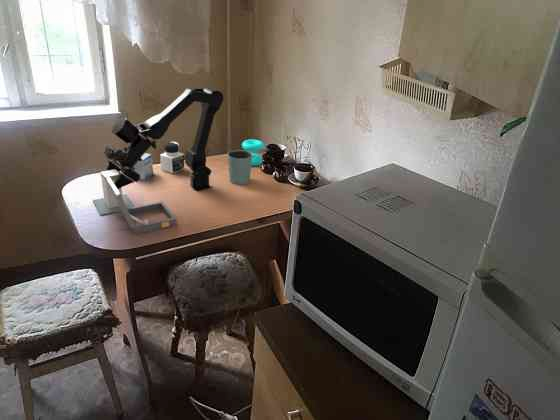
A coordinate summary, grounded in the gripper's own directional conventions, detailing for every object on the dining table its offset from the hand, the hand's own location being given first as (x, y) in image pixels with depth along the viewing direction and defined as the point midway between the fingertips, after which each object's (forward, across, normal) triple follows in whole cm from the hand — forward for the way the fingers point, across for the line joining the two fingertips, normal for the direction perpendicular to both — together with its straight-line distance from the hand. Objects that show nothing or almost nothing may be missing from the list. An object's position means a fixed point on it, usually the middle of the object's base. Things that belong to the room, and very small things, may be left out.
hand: (107, 185), depth 151 cm
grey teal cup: (-31, +4, +43) cm, 53 cm away
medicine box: (-8, -19, +20) cm, 29 cm away
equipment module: (+4, 0, +6) cm, 8 cm away
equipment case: (+2, +17, +10) cm, 19 cm away
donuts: (-43, -11, +54) cm, 70 cm away
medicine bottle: (-18, -20, +29) cm, 40 cm away
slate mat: (+5, 0, +7) cm, 8 cm away
